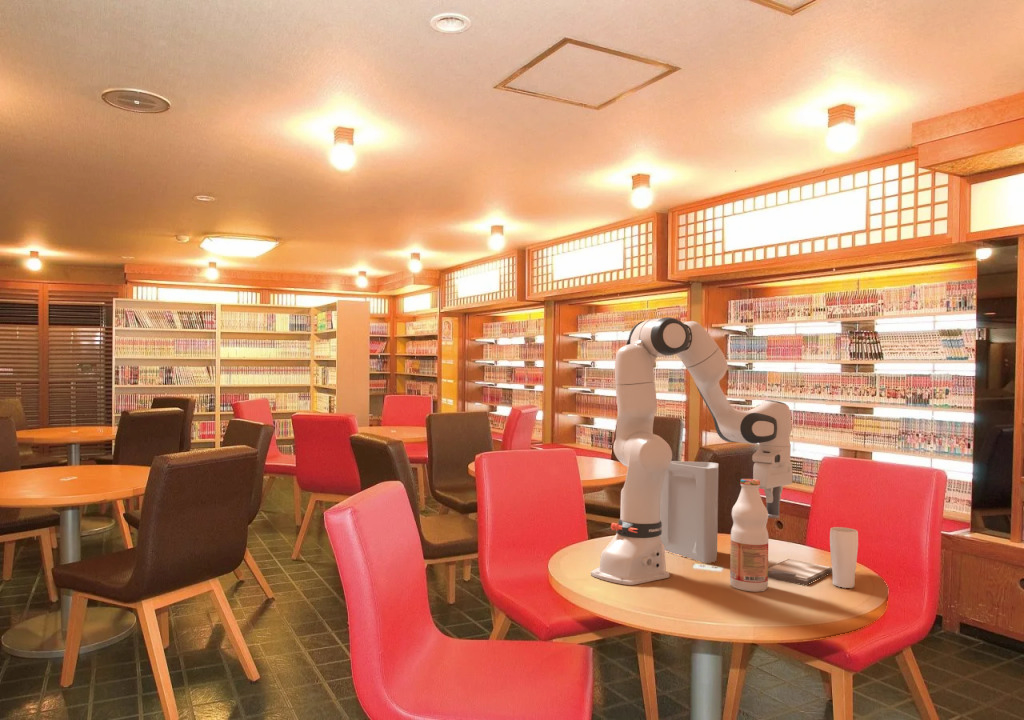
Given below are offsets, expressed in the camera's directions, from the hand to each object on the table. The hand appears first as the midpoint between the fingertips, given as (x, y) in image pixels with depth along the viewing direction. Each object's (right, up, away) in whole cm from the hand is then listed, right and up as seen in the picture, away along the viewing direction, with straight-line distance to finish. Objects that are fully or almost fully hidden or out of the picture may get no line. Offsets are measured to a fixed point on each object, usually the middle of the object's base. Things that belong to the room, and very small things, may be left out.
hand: (773, 501), depth 207 cm
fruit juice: (-16, -18, -24) cm, 34 cm away
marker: (0, -5, 0) cm, 5 cm away
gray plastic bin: (-20, -19, +10) cm, 29 cm away
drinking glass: (+11, -18, -22) cm, 30 cm away
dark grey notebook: (+3, -18, -10) cm, 21 cm away
